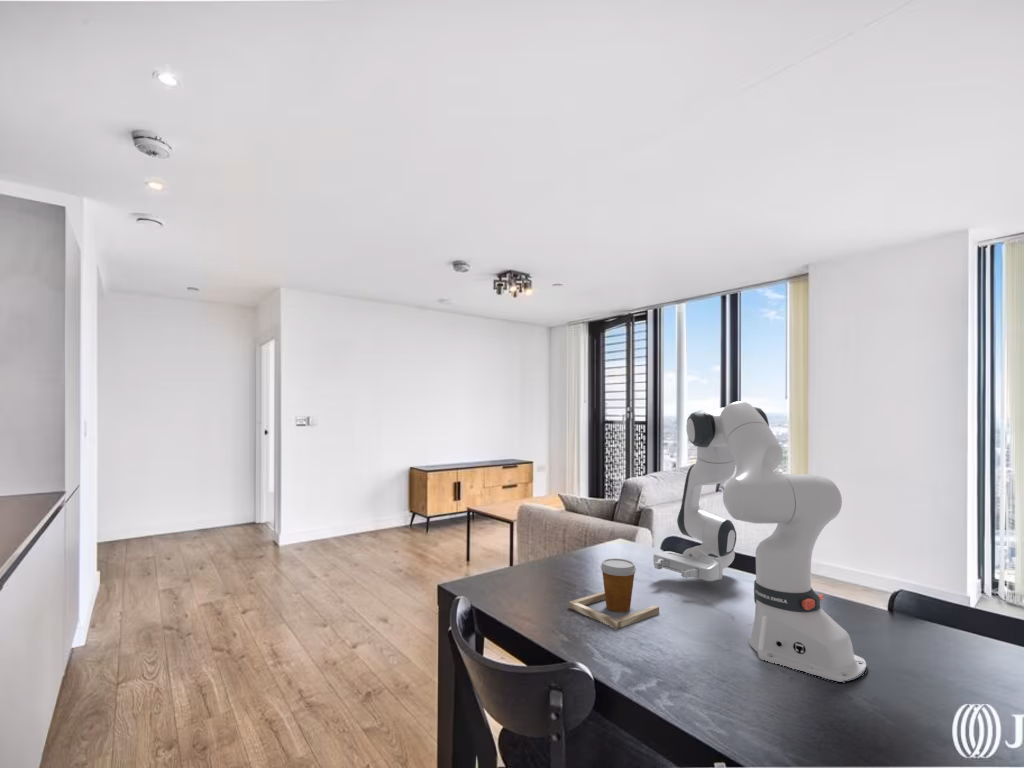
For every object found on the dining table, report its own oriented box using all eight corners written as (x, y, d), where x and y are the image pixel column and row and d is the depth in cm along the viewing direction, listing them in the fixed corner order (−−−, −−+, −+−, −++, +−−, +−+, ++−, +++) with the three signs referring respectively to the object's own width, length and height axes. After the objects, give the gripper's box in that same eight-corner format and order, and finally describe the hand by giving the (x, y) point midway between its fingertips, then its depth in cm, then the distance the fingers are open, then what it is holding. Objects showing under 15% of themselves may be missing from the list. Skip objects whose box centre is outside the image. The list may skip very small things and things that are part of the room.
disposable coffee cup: (639, 615, 137) (639, 568, 137) (602, 614, 137) (603, 567, 137) (632, 601, 146) (632, 558, 147) (597, 601, 146) (598, 557, 147)
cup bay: (659, 613, 138) (659, 607, 138) (616, 629, 128) (616, 622, 128) (610, 594, 151) (610, 589, 152) (568, 607, 142) (568, 601, 142)
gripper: (668, 544, 172) (641, 551, 163) (726, 559, 155) (699, 567, 147) (668, 563, 171) (641, 571, 163) (727, 580, 155) (699, 590, 147)
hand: (669, 570), depth 155 cm, fingers open, 8 cm apart
